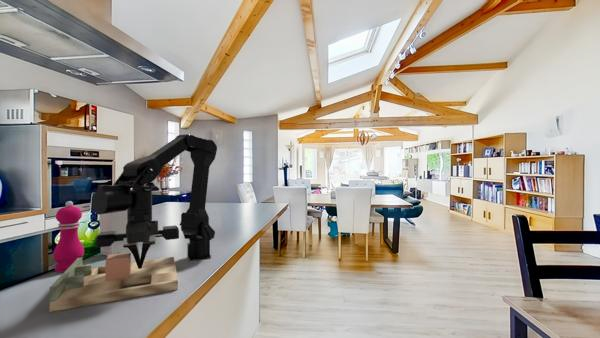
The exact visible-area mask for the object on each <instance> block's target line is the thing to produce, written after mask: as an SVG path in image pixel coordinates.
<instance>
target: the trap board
mask: <svg viewBox="0 0 600 338" xmlns="http://www.w3.org/2000/svg"><path fill="white" fill-rule="evenodd" d="M178 289H179V280H178V274H177V267H176V262H175V257H174V256H170V257H164V258H163V257H162V258H154V259H148V260H147V259H146V260H145V259H144V263H143V266H142V268H141V269H138V266H137V264H136V261H131V273H130V277H127V278H121V279H114V280H108V281H105V265H99V266H93V264H92V263H91V264H83V257H81V258H78V259H77V260H76V261H75V262H74V263H73V264H72V265H71V266H70V267H69V268H68V269H67V270H66V271H65V272H62V274H61V275H60V276H59V277H58V278H57V279H56V280H55V281H54V282H53V283H52V284H51V285H50V286H49V313H51V312H57V311H62V310H68V309H73V308H74V309H75V308H80V307H86V306H91V305H97V304H102V303H108V302H112V301H113V302H114V301H121V300H125V299H131V298H136V297H143V296H147V295H148V296H149V295H153V294H159V293H160V294H161V293H165V292H171V291H175V290H178Z"/></svg>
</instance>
